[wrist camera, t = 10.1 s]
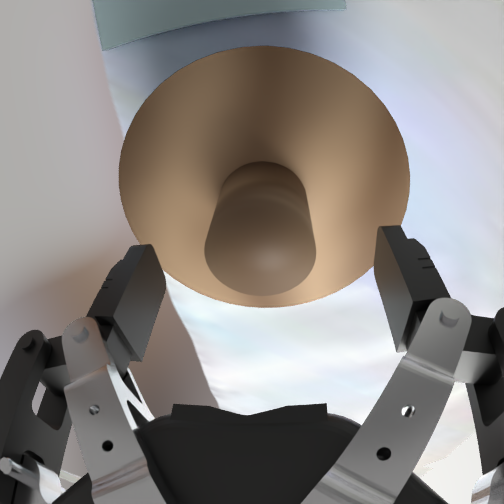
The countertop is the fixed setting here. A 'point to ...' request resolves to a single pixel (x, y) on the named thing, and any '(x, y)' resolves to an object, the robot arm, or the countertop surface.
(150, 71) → the countertop surface
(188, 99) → the lid
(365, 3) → the countertop surface
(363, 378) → the countertop surface
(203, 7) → the mat
